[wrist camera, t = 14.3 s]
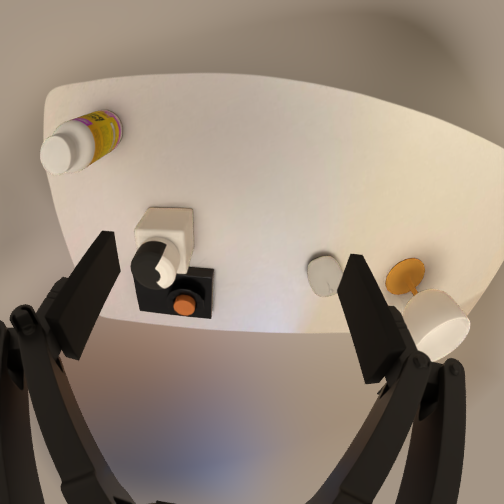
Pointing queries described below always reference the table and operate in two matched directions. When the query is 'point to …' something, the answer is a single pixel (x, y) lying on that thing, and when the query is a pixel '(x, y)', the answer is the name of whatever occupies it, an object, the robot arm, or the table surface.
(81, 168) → the supplement bottle
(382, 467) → the robot arm
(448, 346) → the cup
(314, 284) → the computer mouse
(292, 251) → the table surface
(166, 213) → the medicine bottle
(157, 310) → the machine
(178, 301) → the button
